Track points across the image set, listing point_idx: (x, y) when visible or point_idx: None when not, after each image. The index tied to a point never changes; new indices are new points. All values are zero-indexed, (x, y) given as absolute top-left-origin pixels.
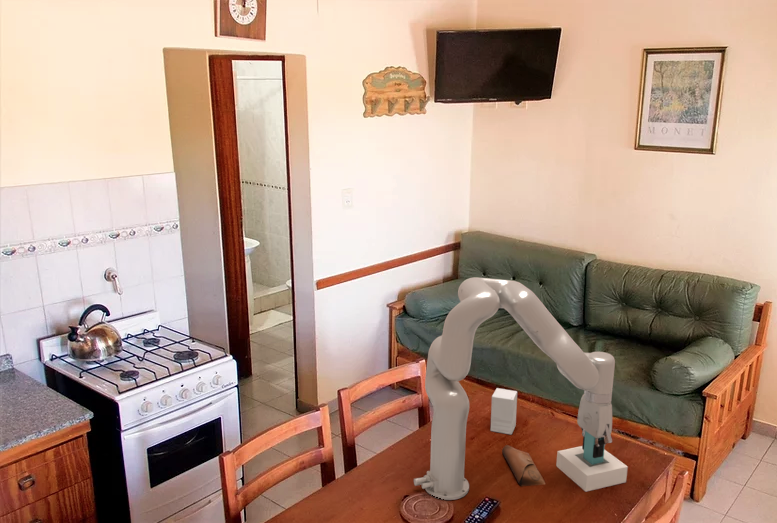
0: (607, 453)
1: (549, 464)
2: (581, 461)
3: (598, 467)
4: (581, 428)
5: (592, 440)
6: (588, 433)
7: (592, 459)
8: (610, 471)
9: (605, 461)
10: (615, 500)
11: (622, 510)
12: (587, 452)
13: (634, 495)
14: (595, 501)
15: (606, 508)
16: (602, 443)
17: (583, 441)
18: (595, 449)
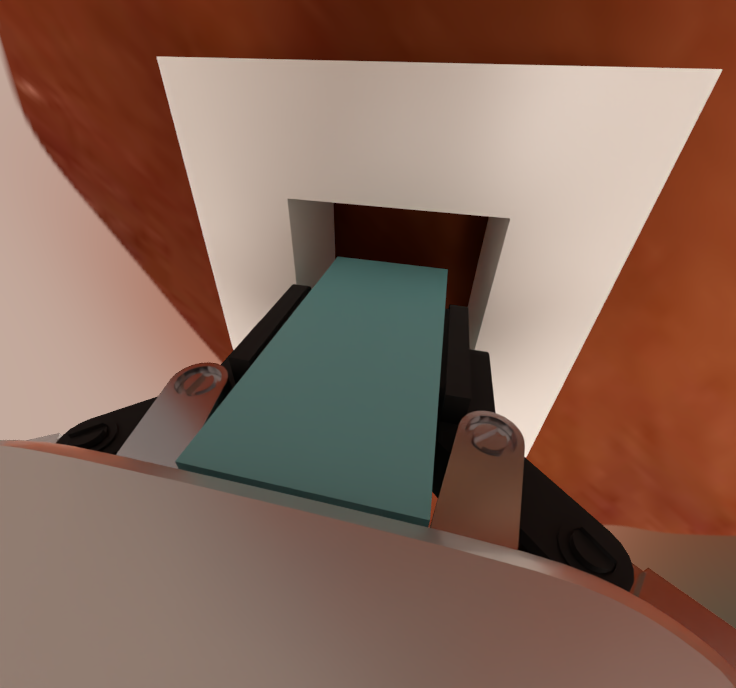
0: None
1: (708, 22)
2: (385, 196)
3: (268, 260)
4: (595, 524)
5: (250, 400)
6: (330, 478)
7: (324, 277)
8: (225, 300)
9: None
10: (154, 192)
11: (71, 159)
12: (387, 298)
13: (191, 304)
14: (139, 53)
15: (74, 74)
16: (91, 421)
17: (458, 358)
18: (254, 338)
